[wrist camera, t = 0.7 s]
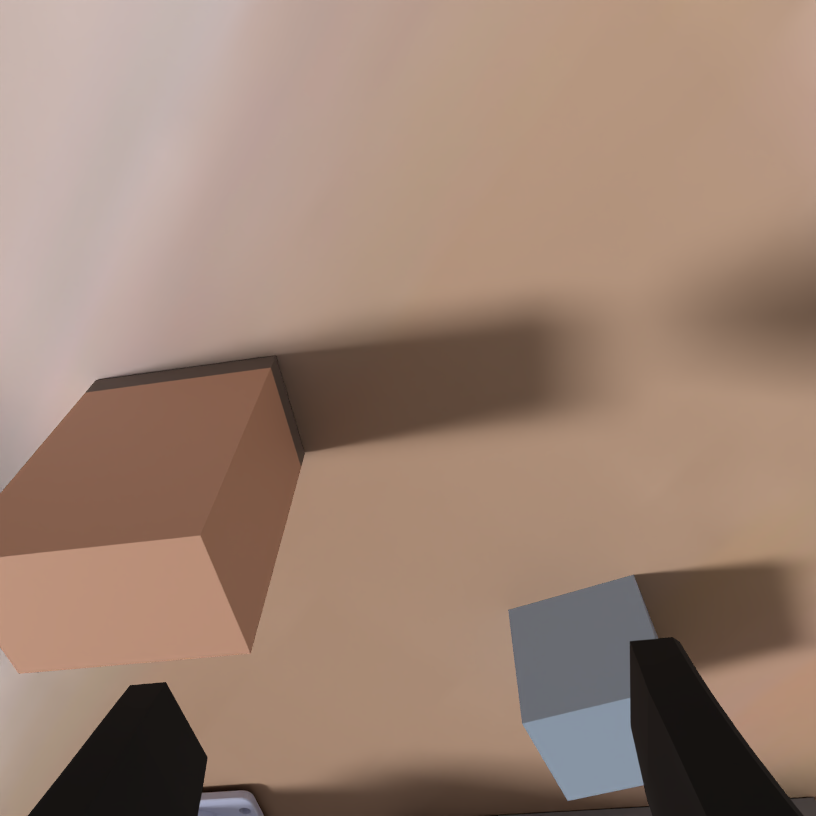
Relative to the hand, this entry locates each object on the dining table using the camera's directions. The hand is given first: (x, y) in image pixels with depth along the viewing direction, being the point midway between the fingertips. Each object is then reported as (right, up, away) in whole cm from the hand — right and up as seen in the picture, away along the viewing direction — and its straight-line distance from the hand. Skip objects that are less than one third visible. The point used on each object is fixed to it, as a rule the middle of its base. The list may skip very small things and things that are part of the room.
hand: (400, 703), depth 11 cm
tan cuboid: (-6, +4, +10) cm, 12 cm away
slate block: (+7, -4, +14) cm, 16 cm away
